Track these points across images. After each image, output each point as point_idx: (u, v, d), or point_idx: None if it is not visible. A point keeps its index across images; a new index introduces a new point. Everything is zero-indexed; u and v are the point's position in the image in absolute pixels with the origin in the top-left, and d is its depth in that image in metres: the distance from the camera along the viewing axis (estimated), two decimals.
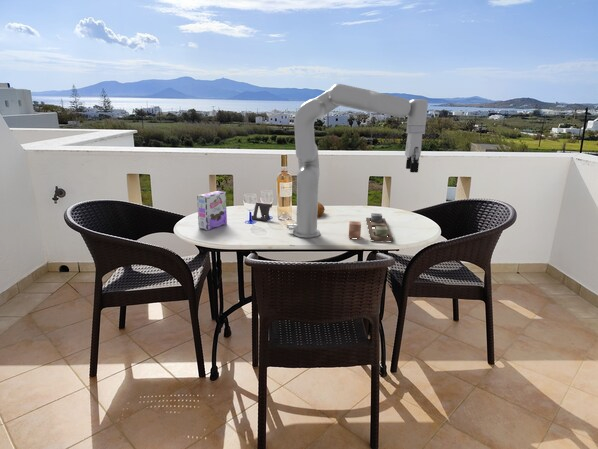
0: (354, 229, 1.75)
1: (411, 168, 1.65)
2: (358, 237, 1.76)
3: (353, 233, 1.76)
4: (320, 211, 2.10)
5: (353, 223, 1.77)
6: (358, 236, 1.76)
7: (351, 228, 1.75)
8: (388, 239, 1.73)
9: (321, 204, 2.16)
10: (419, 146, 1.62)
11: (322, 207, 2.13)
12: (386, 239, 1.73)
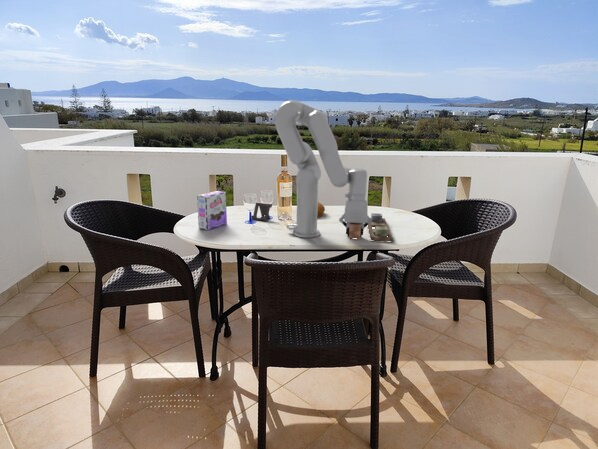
0: (354, 229, 1.75)
1: (361, 233, 1.77)
2: (358, 237, 1.76)
3: (353, 233, 1.76)
4: (320, 211, 2.10)
5: (353, 223, 1.77)
6: (358, 236, 1.76)
7: (351, 228, 1.75)
8: (388, 239, 1.73)
9: (321, 204, 2.16)
10: None
11: (322, 207, 2.13)
12: (386, 239, 1.73)
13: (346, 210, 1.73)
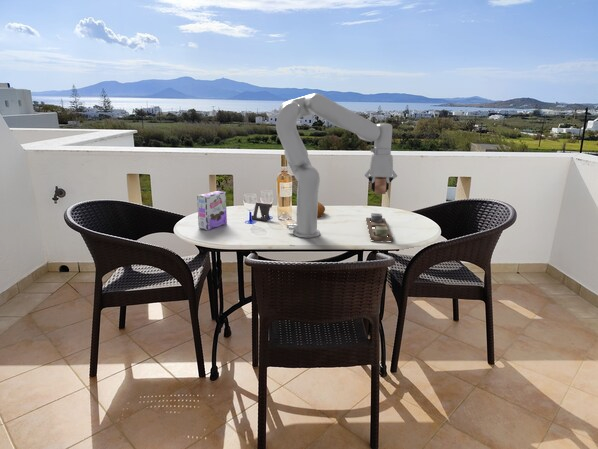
0: (380, 183, 1.79)
1: (387, 188, 1.81)
2: (384, 191, 1.80)
3: (379, 187, 1.80)
4: (320, 211, 2.10)
5: (378, 177, 1.80)
6: (384, 190, 1.80)
7: (377, 182, 1.79)
8: (388, 239, 1.73)
9: (321, 204, 2.16)
10: None
11: (322, 207, 2.13)
12: (386, 239, 1.73)
13: (372, 164, 1.77)
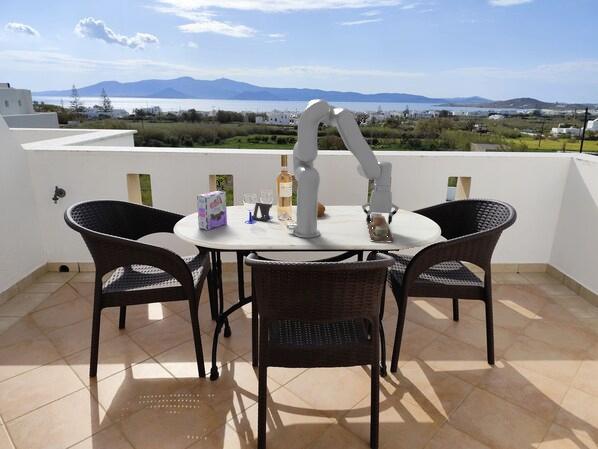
0: (378, 223, 1.86)
1: None
2: None
3: None
4: (320, 211, 2.10)
5: (377, 217, 1.87)
6: None
7: (375, 222, 1.86)
8: (388, 239, 1.73)
9: None
10: None
11: (323, 207, 2.12)
12: (386, 239, 1.73)
13: (372, 200, 1.83)
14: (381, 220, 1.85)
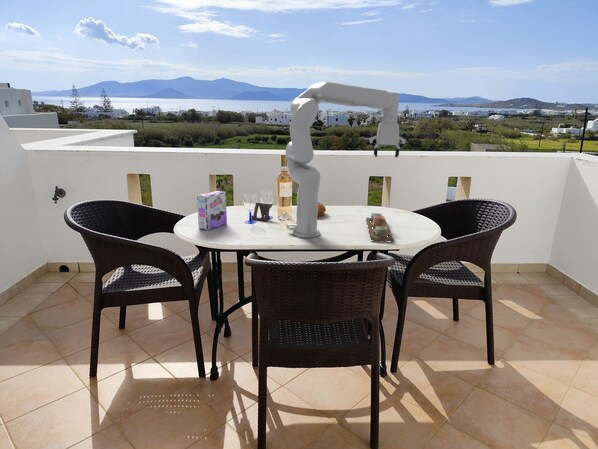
0: (378, 223, 1.86)
1: (397, 154, 1.87)
2: None
3: None
4: (321, 212, 2.09)
5: (377, 217, 1.87)
6: None
7: (375, 222, 1.86)
8: (388, 239, 1.73)
9: (322, 205, 2.15)
10: None
11: (323, 208, 2.12)
12: (386, 239, 1.73)
13: (379, 132, 1.84)
14: (381, 220, 1.85)
